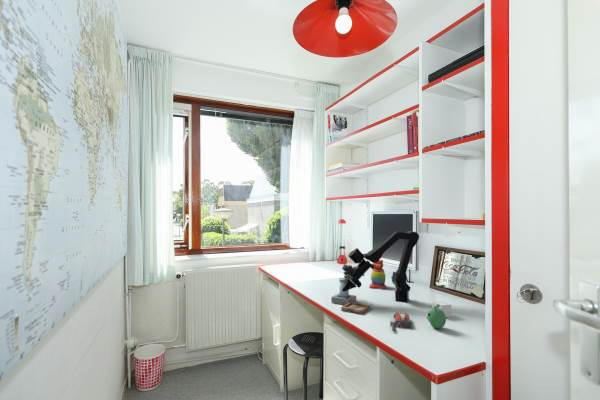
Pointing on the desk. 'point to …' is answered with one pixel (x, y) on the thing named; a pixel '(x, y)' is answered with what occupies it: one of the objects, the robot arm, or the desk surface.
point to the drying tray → (355, 307)
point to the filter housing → (343, 299)
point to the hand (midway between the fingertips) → (341, 289)
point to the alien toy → (436, 317)
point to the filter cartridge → (342, 284)
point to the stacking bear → (378, 276)
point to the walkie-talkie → (400, 321)
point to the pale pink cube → (443, 307)
